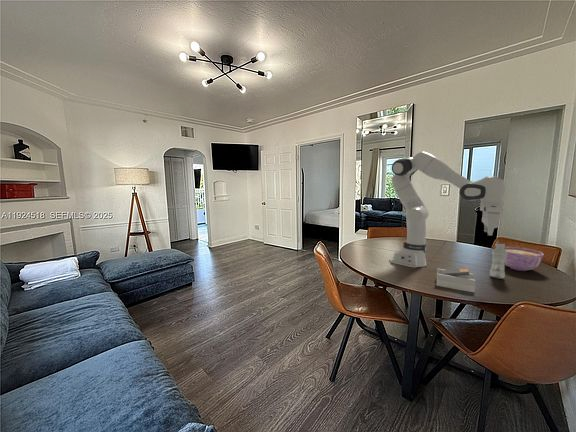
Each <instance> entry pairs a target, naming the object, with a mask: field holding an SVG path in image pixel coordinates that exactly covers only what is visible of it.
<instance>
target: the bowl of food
mask: <svg viewBox="0 0 576 432" xmlns="http://www.w3.org/2000/svg"><path fill="white" fill-rule="evenodd" d="M504 249H505V250H506V251H507V258H506V261H505V267H510V268H509V269H511V270H514V271H520V272H526V271H531V270H535V269H536V268H538V266H539V265H540V263H541V262H542V259H543V257H544V253H543V252H542V251H539V250H535V249H530V248H527V247H526V248H525V247H517V246H505V248H504Z"/></svg>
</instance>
